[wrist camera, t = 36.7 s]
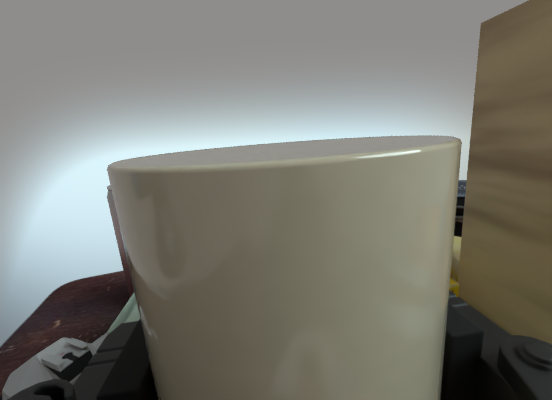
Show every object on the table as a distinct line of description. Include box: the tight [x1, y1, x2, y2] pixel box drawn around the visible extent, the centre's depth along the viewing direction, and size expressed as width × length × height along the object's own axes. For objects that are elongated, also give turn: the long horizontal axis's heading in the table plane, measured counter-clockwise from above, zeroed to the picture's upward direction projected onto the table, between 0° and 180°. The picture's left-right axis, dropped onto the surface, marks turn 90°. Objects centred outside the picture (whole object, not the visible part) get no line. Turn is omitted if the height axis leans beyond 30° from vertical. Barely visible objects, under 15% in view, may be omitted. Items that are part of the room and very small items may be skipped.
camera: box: [0, 333, 108, 400], centre depth 18 cm, size 13×8×9 cm, turn 160°
